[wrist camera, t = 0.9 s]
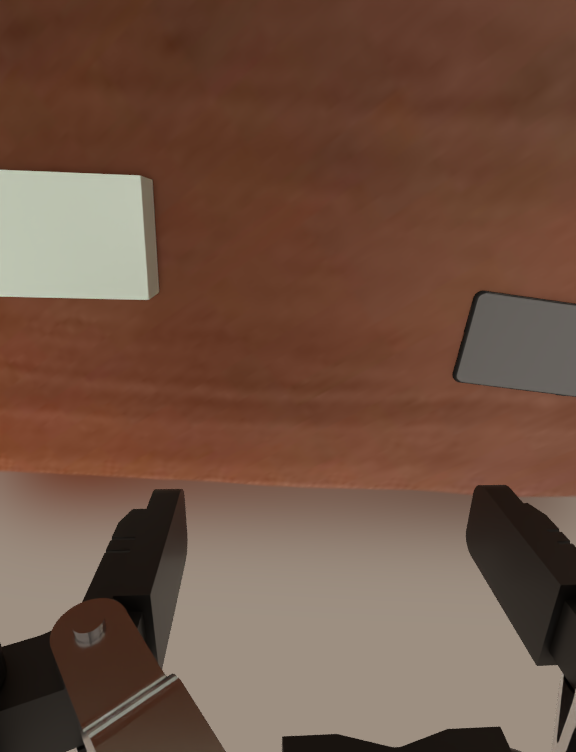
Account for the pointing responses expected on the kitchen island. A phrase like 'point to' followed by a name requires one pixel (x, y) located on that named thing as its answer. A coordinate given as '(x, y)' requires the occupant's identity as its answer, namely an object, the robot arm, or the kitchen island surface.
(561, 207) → the kitchen island surface
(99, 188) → the sage green bar
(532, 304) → the smartphone
